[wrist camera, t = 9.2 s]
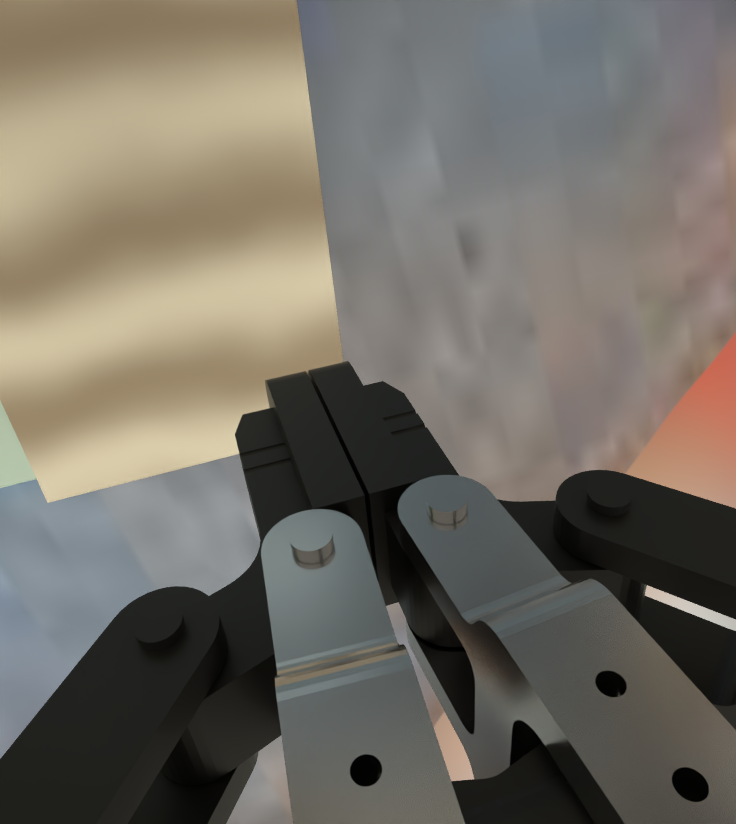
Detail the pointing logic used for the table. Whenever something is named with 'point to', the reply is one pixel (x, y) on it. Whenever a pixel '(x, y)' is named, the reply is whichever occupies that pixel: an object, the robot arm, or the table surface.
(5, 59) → the deck
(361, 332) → the table surface
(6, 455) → the mat
